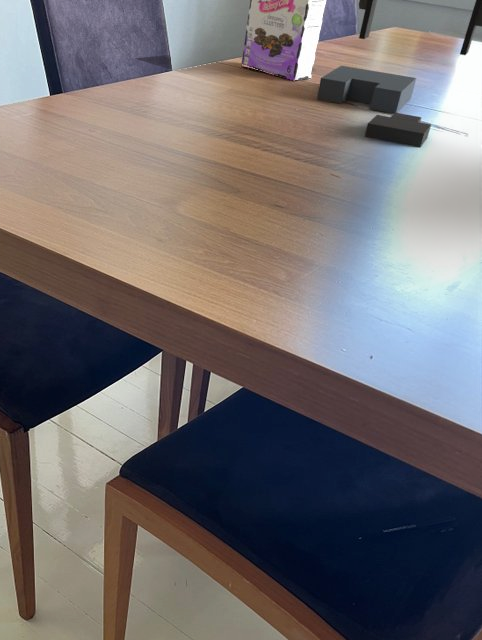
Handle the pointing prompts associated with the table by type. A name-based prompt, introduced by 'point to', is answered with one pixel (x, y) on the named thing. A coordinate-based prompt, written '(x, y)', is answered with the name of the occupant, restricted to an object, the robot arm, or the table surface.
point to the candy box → (283, 36)
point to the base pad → (366, 88)
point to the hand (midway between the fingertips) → (412, 45)
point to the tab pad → (398, 129)
